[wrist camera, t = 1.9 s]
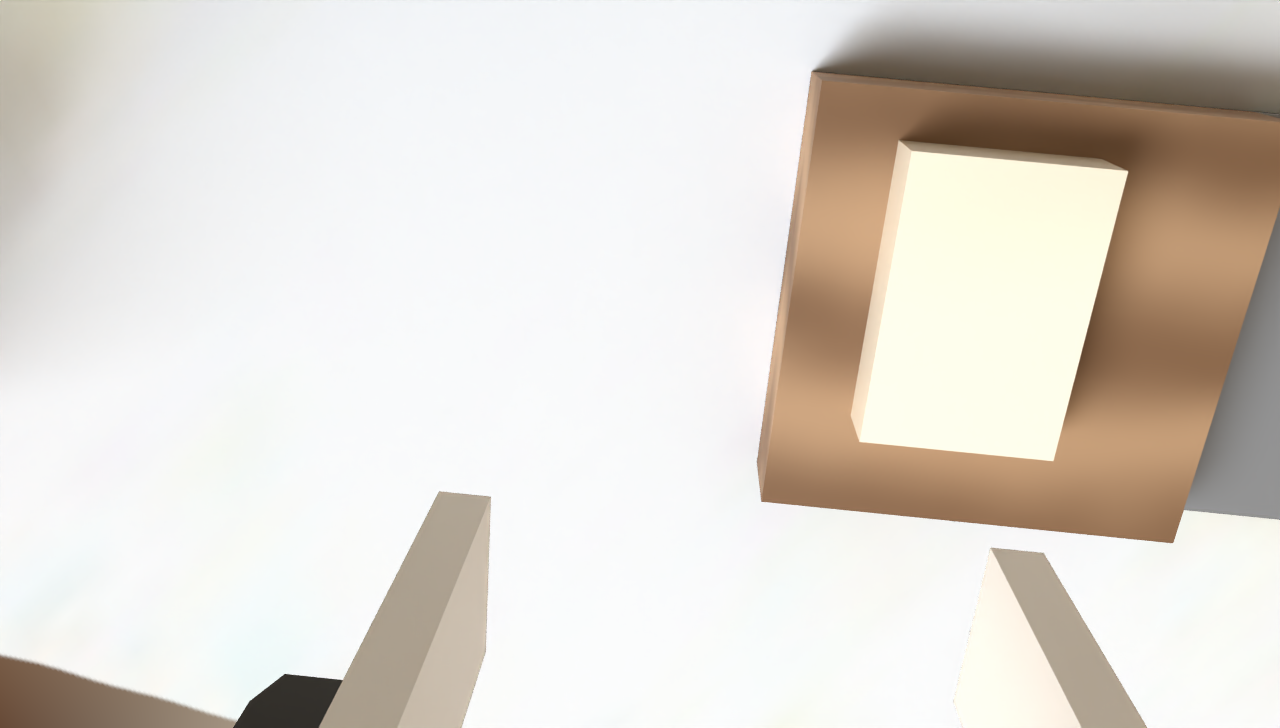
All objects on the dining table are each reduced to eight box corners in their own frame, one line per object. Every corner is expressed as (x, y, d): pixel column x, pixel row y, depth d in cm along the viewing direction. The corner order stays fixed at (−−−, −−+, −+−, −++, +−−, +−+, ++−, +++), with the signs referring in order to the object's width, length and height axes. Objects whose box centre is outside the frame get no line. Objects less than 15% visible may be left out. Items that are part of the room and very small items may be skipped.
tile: (898, 140, 30) (911, 150, 28) (1101, 159, 30) (1128, 171, 28) (850, 415, 33) (859, 441, 31) (1033, 433, 33) (1053, 461, 31)
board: (811, 71, 32) (822, 80, 29) (1253, 111, 32) (1305, 124, 29) (756, 462, 37) (761, 501, 35) (1137, 500, 37) (1172, 543, 34)
